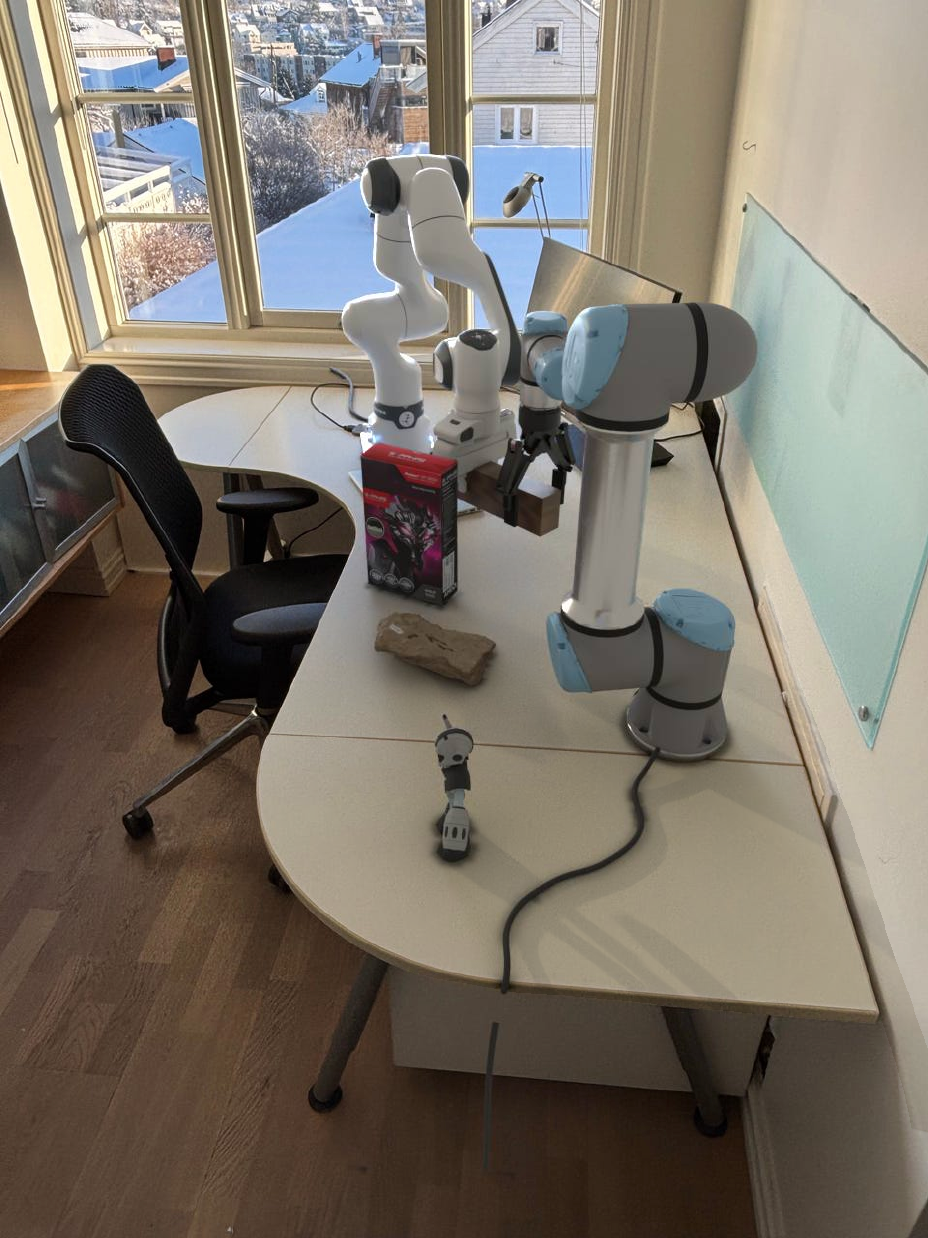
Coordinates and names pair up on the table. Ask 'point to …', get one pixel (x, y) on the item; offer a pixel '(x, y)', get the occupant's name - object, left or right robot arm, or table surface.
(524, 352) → the right robot arm
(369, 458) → the graphics card box
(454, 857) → the robot
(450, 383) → the left robot arm
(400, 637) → the stone
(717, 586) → the table surface
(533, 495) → the bar
